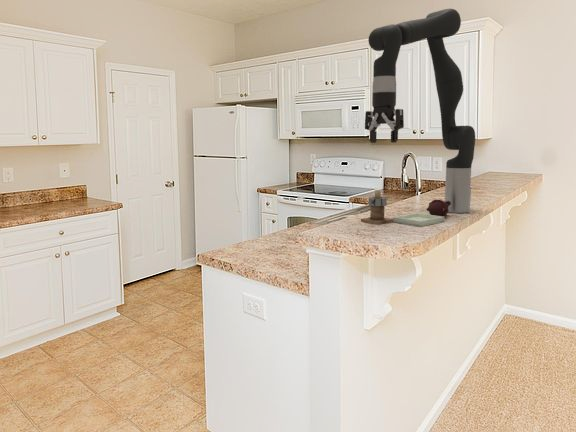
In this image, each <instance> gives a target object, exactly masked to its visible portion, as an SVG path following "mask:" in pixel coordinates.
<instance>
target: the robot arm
mask: <svg viewBox="0 0 576 432" xmlns="http://www.w3.org/2000/svg"><path fill="white" fill-rule="evenodd" d="M461 24H462V19H461V15H460V13H459V11H457V10H456V9H454V8H446V9H445V8H444V9H441V10H438V11H434V12H431V13H428V14H427V15H426V17H425V18H419V19H413V20H411V19H410V20H407V21H402V22H399V23H396V24H394V23H393V24H387V25H383V26H380V27H376V28H374V29H373V30H372V31H370V33H369V36H368V45H369V46H370V48H371V49H372V50H373V51H376V52H382V54H381V56H379V57H377V58H376V59H375V60H374V61H373V71H372V72H373V74H372V75H373V76H372V77H373V78H372V79H373V81H372V85H371V86H372V89H371V92H372V93H371V94H372V95H371V96H372V97H371V100H372V101H371V103H372V104H371V105H372V107H373V108H372V109H373V110H372V111H370V110H367V111H365V113H364V114H365V116H364V130H368V131H369V141H370V143H371V144H376V143H377V130H378V128H379V127H380V126H381V125H382V124H383V125H385V124H386V125H388V126H389V129H391V130H390V143H392V144H393V143H396V144H397V142H398V139H399V130H401V129H404V126H405V123H404V120H405V119H404V117H405V116H404V109H402V108H395V107H396V106H397V80H396V79H397V78H396V75H397V73H396V72H397V66H396V65H397V61H398V58H399V55H400V54H399V53H400V51H401V46H405V45H409V44H413V43H416V42H420V41H422V40H423V41H424V40H425V39H426V41H427V45H428V48H429V52H430V56H431V61H432V67H433V72H434V79H435V87H436V93H437V97H438V102H439V112H440V121H441V137H442V143H443V146H444V147H445V149H447V150H449V151H450V150H451V151H458V153H457V155H455V156H454V157H451V158H450V159H447V161H446V162H445V166H446V167H445V185H444V186H445V189H444V202H445V201H450V202H451V204H450V206H448V210H449V211H448V212H447V213H452V214H453V213H455V214H465V213H466V214H467V213H470V210H471V196H472V195H471V194H472V187H471V181H472V180H471V179H472V164H473V161H474V155H475V148H476V147H475V145H476V132H475V128H474V127H473V126H471V125H457V124H456V111H457V108H458V106H459V103H460V101H461V99H462V97H463V94H464V83H463V75H462V72H461V69H460V68H459V66H458V64H456V62H455V61H454V60H453V59H452V58H451V56H450V54H449V53H448V52H447V50H446V47H445V46H446V45H445V43H444V38H449V37H452V36H455V35H456V34H457V33H458V32H459V31H460V28H461Z"/></svg>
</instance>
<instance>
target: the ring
mask: <svg viewBox="0 0 576 432" xmlns="http://www.w3.org/2000/svg"><path fill="white" fill-rule="evenodd" d="M387 203H388V201H387V197H386V196H381V198H375V196H370V197H368V206H370V207H371V206H384V207H386V206H387Z"/></svg>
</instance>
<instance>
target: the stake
mask: <svg viewBox="0 0 576 432" xmlns="http://www.w3.org/2000/svg"><path fill="white" fill-rule="evenodd" d="M381 193H382V191H381V190H379V189H378V190H377V189H376V190H374V197H375V198H381V197H382V196H381V195H382V194H381ZM369 213H370V215H369V217H364V218H361V219H360V222H361V221H362V223H368V224H372V225H373V224H374V225H377V226H378V225H385V224H389V223H390V224H391V223H394V222H393V218H389V217H385V206H370V212H369Z"/></svg>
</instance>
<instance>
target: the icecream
mask: <svg viewBox="0 0 576 432" xmlns="http://www.w3.org/2000/svg"><path fill="white" fill-rule="evenodd" d="M450 204H451V202H450V201H445V200H444V201H443V200H442V199H433V200H432V201H430V202H429V203H428V207H427V208H426V211H427V212H428V213H429V215H435V216H442V217H445V216H446V215H447V214H448V213H449V212H448V211H449V210H448V206H450Z"/></svg>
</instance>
